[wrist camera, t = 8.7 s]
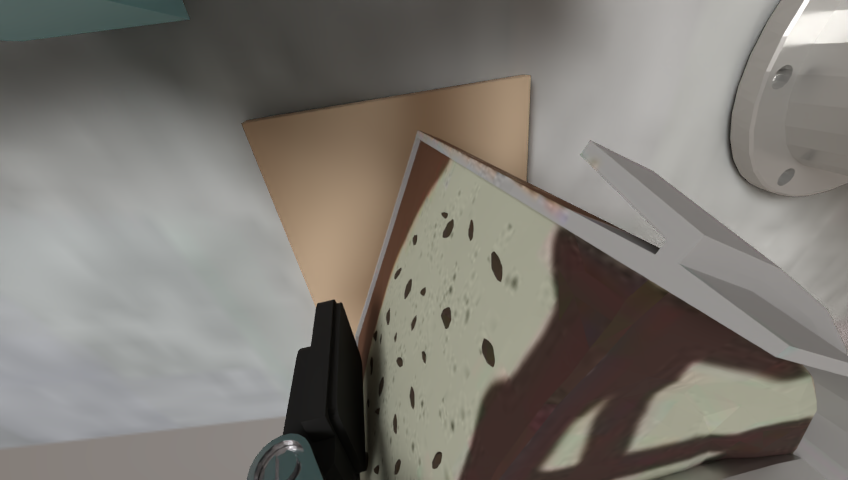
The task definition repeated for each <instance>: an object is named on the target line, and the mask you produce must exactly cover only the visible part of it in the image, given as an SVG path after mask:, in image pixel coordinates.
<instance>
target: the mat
mask: <svg viewBox="0 0 848 480" xmlns="http://www.w3.org/2000/svg"><path fill="white" fill-rule="evenodd" d="M530 82H531V76H530V75H518V76H512V77H506V78H500V79H494V80H488V81H482V82H476V83H470V84H464V85H458V86H452V87H446V88H439V89H433V90H427V91H421V92H415V93H409V94H403V95H397V96H391V97H385V98H379V99H373V100H367V101H361V102H355V103H349V104H343V105H337V106H330V107H324V108H318V109H312V110H306V111H300V112H294V113H288V114H282V115H276V116H270V117H264V118H258V119H252V120H246V121H245V122H243V123H241V124H242V126H243V129H244V131H245V134H246V136H247V139H248V141H249V144H250V146H251V149H252V151H253V154H254V156H255V158H256V161H257V163H258V166H259V168H260V171H261V173H262V176H263V178H264V181H265V183H266V186H267V188H268V190H269V193H270V195H271V198H272V200H273V203H274V205H275V208H276V210H277V213H278V215H279V218H280V220H281V222H282V225H283V227H284V230H285V232H286V235H287V237H288V240H289V242H290V245H291V247H292V249H293V252H294V254H295V257H296V259H297V262H298V264H299V267H300V269H301V272H302V274H303V277H304V279H305V281H306V284H307V286H308V289H309V291H310V294H311V296H312V299H313V301H314V304H315V306H317V303H320V302H325V301H329V300H335V301H336V303H340V302H342V304H343V306H344V309H345V312H346V315H347V318H348V320H349V323H350V326H351V329H352V332H353V335H354V338H355V334H356V331H357V327H358V324H359V321H360V318H361V314H362V311H363V308H364V305H365V301H366V298H367V295H368V291H369V288H370V285H371V282H372V278H373V275H374V272H375V268H376V265H377V262H378V259H379V255H380V252H381V249H382V246H383V242H384V239H385V236H386V232H387V229H388V226H389V223H390V219H391V216H392V213H393V210H394V206H395V203H396V200H397V196H398V193H399V190H400V187H401V183H402V180H403V177H404V173H405V170H406V167H407V164H408V160H409V157H410V154H411V151H412V147H413V144H414V141H415V137H416V134H417V131H418V130H419V131H422V132H424V133H427V134H429V135H432V136H434V137H437V138H439V139H442V140H444V141H446V142H448V143H450V144H452V145H454V146H456V147H458V148H460V149H462V150H464V151H466V152H468V153H470V154H472V155H474V156H476V157H478V158H480V159H482V160H484V161H486V162H488V163H490V164H492V165H494V166H496V167H498V168H500V169H502V170H504V171H506V172H508V173H510V174H512V175H514V176H516V177H518V178H520V179H522V180H524V181H526V180H527V155H528V131H529V107H530Z"/></svg>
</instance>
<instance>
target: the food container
mask: <svg viewBox="0 0 848 480" xmlns="http://www.w3.org/2000/svg"><path fill="white" fill-rule="evenodd" d="M580 155H581V156H582V157H583V158H584V159H585V160H586V161H587V162H588V163H589V164H590V165H591V166H592V167H593V168H594V169H595V170H596V171H597V172H598V173H599V174H600V175H601V176H602V177H603V178H604V179H605V180H606V181H607V182H608V183H609V184H610V185H611V186H612V187H613V188H614V189H615V190H616V191H617V192H618V193H619V194H620V195H621V196H622V197H623V198H624V199H625V200H626V201H627V202H628V203H629V204H630V205H631V206H632V207H633V208H635V209H636V210H637V211H638V212H639V213H640V214H641V215H642V216H643V217H644V218H645V219H646V220H647V221H648V222H649V223H650V224H651V225H652V226H653V227H654V228H655V229H656V230H657V231H658V232H659V233H660V234H661V235H662V236H663V237H664V238H665V239H666V241H665V242H664V243H663V245H662V246H661V248H658V247H656V246H654V245H652V244H650V243H648V242H646V241H644V240H642V239H640V238H638V237H636V236H634V235H632V234H630V233H628V232H626V231H624V230H622V229H620V228H618V227H616V226H614V225H612V224H610V223H608V222H606V221H604V220H602V219H600V218H598V217H596V216H594V215H592V214H590V213H588V212H586V211H584V210H582V209H580V208H578V207H576V206H574V205H572V204H570V203H568V202H566V201H564V200H562V199H560V198H558V197H556V196H554V195H552V194H550V193H548V192H546V191H544V190H542V189H540V188H538V187H536V186H534V185H532V184H530V183H528V182H526V181H524V180H522V179H520V178H518V177H516V176H514V175H512V174H510V173H508V172H506V171H504V170H502V169H500V168H498V167H496V166H494V165H492V164H490V163H488V162H486V161H484V160H482V159H480V158H478V157H476V156H474V155H472V154H470V153H468V152H466V151H464V150H462V149H460V148H458V147H456V146H454V145H452V144H450V143H448V142H446V141H444V140H442V139H439V138H437V137H434V136H432V135H429V134H427V133H424V132H422V131H419V130H418V131H417V134H416V137H415V141H414V144H413V147H412V151H411V154H410V157H409V160H408V164H407V167H406V170H405V173H404V177H403V180H402V183H401V187H400V190H399V193H398V196H397V200H396V203H395V206H394V210H393V213H392V216H391V219H390V223H389V226H388V229H387V232H386V236H385V239H384V242H383V246H382V249H381V252H380V255H379V259H378V262H377V265H376V268H375V272H374V275H373V278H372V282H371V285H370V288H369V291H368V295H367V298H366V301H365V305H364V308H363V311H362V314H361V318H360V321H359V324H358V327H357V331H356V334H355V341H356V344H357V347H358V349H359V352H360V355H361V360H362V370H363V396H364V422H365V448H366V471H364V472H361V473H360V480H653V479H657V478H660V477H664V476H667V475H671V474H674V473H678V472H681V471H685V470H688V469H690V468H692V467H695V466H697V465H700V464H703V463H706V462H712V461H719V460H724V459H749V458H761V457H769V456H777V455H785V454H794V455H796V456H798V457H800V458H802V459H804V460H805V461H806V462H807V463H808V464H809V465H811V466H812V467H813V468H814V469H815V470H816V471H818V472H819V473H820V474H821V475H822V476H824V477H825V478H826V479H827V480H848V356H847V349H846V347H845V345H844V343H843V341H842V338H841V336H840V334H839V332H838V330H837V328H836V326H835V324H834V322H833V320H832V317H831V315H830V313H829V311H828V309H827V308H825V307H824V306H823V305H822V304H821V303H820V302H819V301H817V300H816V299H815V298H814V297H813V296H812V295H811V294H809V293H808V292H807V291H806V290H805V289H804V288H803V287H801V286H800V285H799V284H798V283H797V282H796V281H795V280H793V279H792V278H791V277H790V276H789V275H788V274H787V273H785V272H784V271H783V270H782V269H781V268H779V267H778V266H777V265H776V264H774V263H773V262H772V261H770V260H769V259H768V258H766V257H765V256H764V255H762V254H761V253H760V252H758V251H757V250H756V249H755V248H753V247H752V246H751V245H749V244H748V243H747V242H745V241H744V240H743V239H741V238H740V237H739V236H737V235H736V234H735V233H734V232H732V231H731V230H730V229H728V228H727V227H726V226H724V225H723V224H722V223H720V222H719V221H718V220H717V219H715V218H714V217H713V216H711V215H710V214H709V213H707V212H706V211H705V210H703V209H702V208H701V207H699V206H698V205H697V204H696V203H694V202H693V201H692V200H690V199H689V198H688V197H686V196H685V195H684V194H682V193H681V192H680V191H678V190H677V189H676V188H675V187H673V186H672V185H671V184H669V183H668V182H667V181H665V180H664V179H663V178H661V177H660V176H659V175H658V174H656V173H655V172H654V171H652V170H650V169H648V168H646V167H644V166H642V165H639V164H637V163H635V162H633V161H631V160H629V159H627V158H625V157H623V156H621V155H619V154H617V153H615V152H613V151H611V150H609V149H607V148H605V147H603V146H601V145H599V144H597V143H595V142H593V141H591V140H590V141H589V143H588V144H587V146H586V147H585V149H584V150H583V151H582V153H581V154H580Z"/></svg>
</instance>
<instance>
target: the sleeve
mask: <svg viewBox="0 0 848 480" xmlns="http://www.w3.org/2000/svg"><path fill="white" fill-rule="evenodd" d="M182 20H190V18H189V16H188V13H187V11H186V8H185V6H184V4H183V1H182V0H0V41H28V40H36V39H44V38H51V37H59V36H67V35H74V34H82V33H90V32H97V31H105V30H113V29H120V28H128V27H136V26H143V25H151V24H159V23H167V22H174V21H182Z"/></svg>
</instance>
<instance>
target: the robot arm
mask: <svg viewBox="0 0 848 480" xmlns="http://www.w3.org/2000/svg"><path fill="white" fill-rule="evenodd" d="M730 141H731V148H732V154H733V159H734V162H735V164H736V166H737V168H738V170H739V172H740V174H741V175H742V176H743V177H744V178H745V179H746V180H747V181H748V182H749V183H750V184H752V185H754V186H756V187H759V188H761V189H763V190H766V191H769V192H773V193H776V194H780V195H784V196H788V197H795V196H809V195H813V194H818V193H822V192H826V191H829V190H831V189H834V188H837V187H839V186H842V185H844V184H847V183H848V0H781V1H780V3H779V4H778V6H777V7H776V9H775V10H774V12H773V13H772V15H771V17H770V18H769V20H768V21H767V23H766V25H765V27H764V29H763V31H762V33H761V35H760V37H759V39H758V41H757V43H756V45H755V47H754V49H753V51H752V53H751V54H750V57H749V60H748V62H747V65H746V68H745V70H744V73H743V75H742V78H741V81H740V83H739V86H738V90H737V94H736V98H735V103H734V107H733V111H732V118H731V132H730ZM364 471H366V448H365V422H364V396H363V370H362V360H361V355H360V352H359V349H358V347H357V344H356V341H355V338H354V335H353V332H352V329H351V326H350V323H349V320H348V318H347V315H346V312H345V309H344V306H343V304H342V302H340V303H336V301H335V300H329V301H325V302H320V303H317V306H316V312H315V320H314V327H313V335H312V342H311V346H310V347H306V348H302V349H300V350H299V351H298V354H297V358H296V364H295V369H294V375H293V381H292V386H291V392H290V398H289V403H288V409H287V414H286V420H285V426H284V432H283V435H282V436H280V437H278V438H276V439H274V440H272V441H271V442H270V443H268V444H267V445H266V446H265V447H264V448H263V449H262V450H261V451H260V452H259V454H258V455H257V456H256V457H255V459H254V461H253V463H252V465H251V467H250V469H249V473H248V477H247V480H360V473H361V472H364ZM653 480H827V479H826V478H825V477H824V476H822V475H821V474H820V473H819V472H818V471H816V470H815V469H814V468H813V467H812V466H811V465H809V464H808V463H807V462H806V461H805V460H804V459H802V458H800V457H798V456H796V455H794V454H785V455H777V456H769V457H761V458H749V459H724V460H719V461H712V462H706V463H703V464H700V465H697V466H695V467H692V468H690V469H688V470H685V471H681V472H678V473H674V474H671V475H667V476H664V477H660V478H657V479H653Z"/></svg>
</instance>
